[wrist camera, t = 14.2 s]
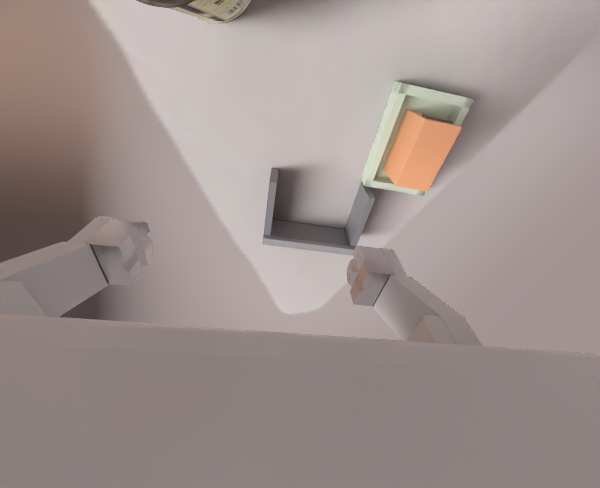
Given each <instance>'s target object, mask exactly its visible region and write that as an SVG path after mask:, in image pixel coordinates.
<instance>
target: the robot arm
mask: <svg viewBox="0 0 600 488" xmlns="http://www.w3.org/2000/svg"><path fill="white" fill-rule="evenodd" d="M148 232H149V228H148V224H147V223H145V222H143V221H135V220H128V219H121V218H113V217H104V216H100V217H96V218H95V219H94V220H93V221H92V222H90V223H89V224H88V225H87V226H86V227H85V228H83V229H82V230H81V231H80V232H79V233H78V234H77V235H75V236H74V237H73V238H72V239H70V240H69V241H68V242H60V243H57V244H54V245H51V246H49V247H46V248H43V249H40V250H37V251H34V252H31V253H28V254H25V255H22V256H19V257H17V258H13V259H11V260H8V261H5V262H2V263H0V488H600V356H597V355H593V354H588V353H580V352H564V351H548V350H533V349H518V348H504V347H489V346H488V347H487V346H482V344H481V343H480V341H479V340H478V338H477V336H476V335H475V334H474V332H473V330H472V329H471V327H470V325H469V324H468V322H467V321H466V319H465V318H464V317H463V316H462V315H461V314H459V313H458V312H457V311H455V310H454V309H453V308H451V307H450V306H449V305H447V304H446V303H445V302H443V301H442V300H441V299H439V298H438V297H437V296H435V295H434V294H433V293H431V292H430V291H429V290H427V289H426V288H425V287H424V286H422V285H421V284H419V283H418V282H417V281H415V280H414V279H413V278H412V277H407V275H406V273H405V271H404V269H403V267H402V266H401V263H400V261H399V259H398V257H397V256H396V254H395V252H394V250H392V249H386V248H371V247H362V246H356V247H355V249H354V251H353V256H354V259H352V260H351V261H350V262H349V265H348V268H347V280H348V283H349V284H350V285H351V286H352V288H351V290H350V292H351V297H352V301H353V304H357V305H366V306H373V308H374V309H375V310H376V311H377V312H378V314H379V315H380V316H381V317H382V318H383V319H384V321H385V322H386V323H387V324H388V325H389V326H390V328H391V329H392V330H393V331H394V332H395V334H396V335H397V336H398V337H399V338H400V340H386V339H369V338H355V337H341V336H327V335H312V334H298V333H283V332H268V331H254V330H239V329H224V328H210V327H195V326H180V325H165V324H150V323H135V322H121V321H106V320H91V319H77V318H62V317H59V316H60V315H62V314H64V313H65V312H67V311H68V310H70V309H72V308H73V307H74V306H76V305H78V304H79V303H81V302H83V301H84V300H85V299H87V298H89V297H90V296H92V295H93V294H95V293H97V292H98V291H100V290H101V289H103V288H105V287H106V286H108V284H118V285H134V284H135V283H136V281H137V279H138V278H139V276H140V275H141V274H142V269H141V267H143V266H145V265H147V264H148V263H149V262H150V260H151V258H152V255H153V242H152V240H151V239H150V238H149V237H148V236H147V234H148Z"/></svg>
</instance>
